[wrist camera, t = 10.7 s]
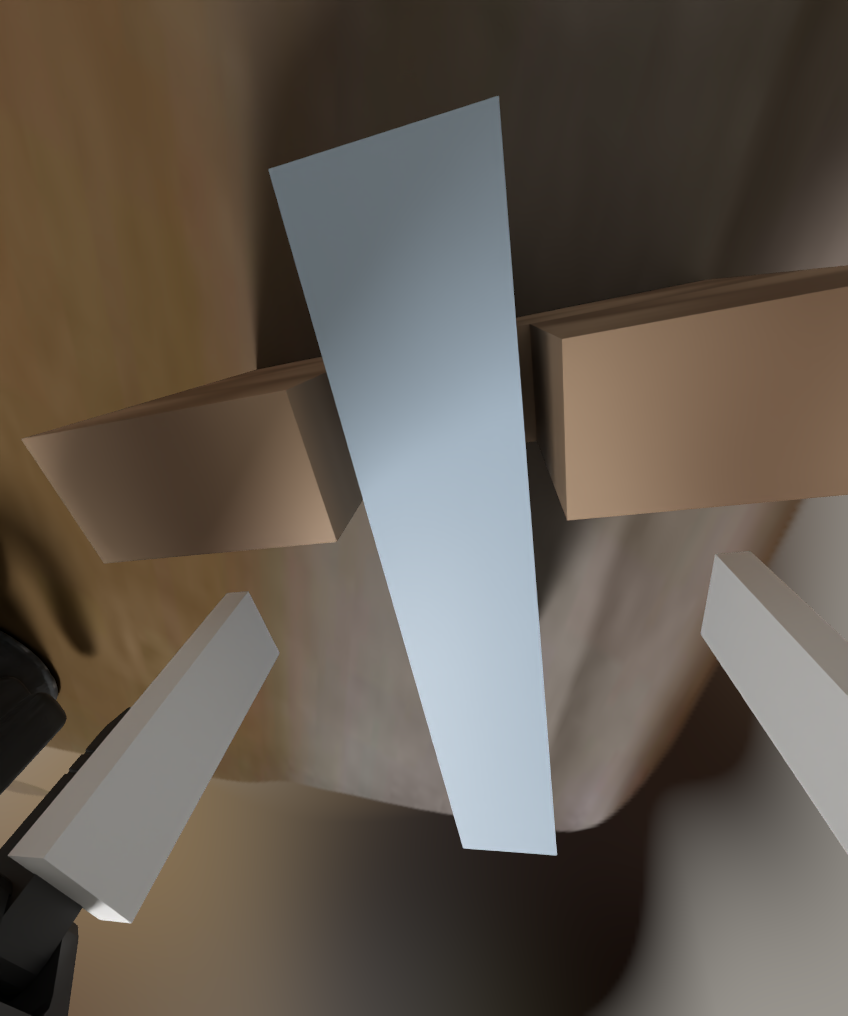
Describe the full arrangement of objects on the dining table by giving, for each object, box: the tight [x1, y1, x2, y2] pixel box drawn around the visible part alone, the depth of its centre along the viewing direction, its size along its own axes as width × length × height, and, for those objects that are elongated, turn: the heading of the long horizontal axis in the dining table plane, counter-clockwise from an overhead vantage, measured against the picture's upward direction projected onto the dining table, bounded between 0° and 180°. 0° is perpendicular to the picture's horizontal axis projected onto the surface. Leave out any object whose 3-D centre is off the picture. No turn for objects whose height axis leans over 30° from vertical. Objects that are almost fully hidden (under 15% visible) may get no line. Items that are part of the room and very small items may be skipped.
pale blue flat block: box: [268, 96, 557, 855], centre depth 13 cm, size 18×3×9 cm, turn 11°
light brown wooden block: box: [21, 265, 848, 563], centre depth 11 cm, size 16×3×9 cm, turn 101°
